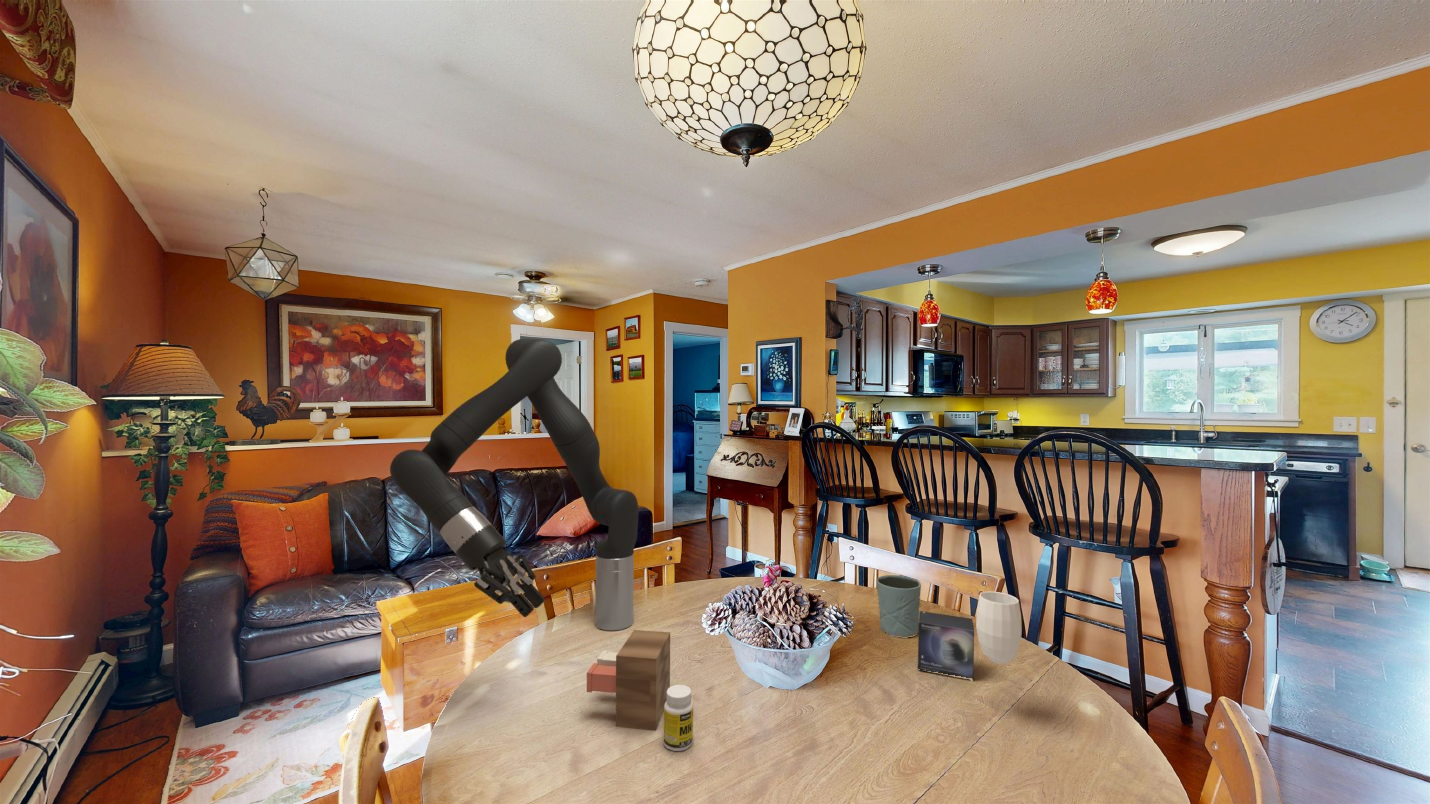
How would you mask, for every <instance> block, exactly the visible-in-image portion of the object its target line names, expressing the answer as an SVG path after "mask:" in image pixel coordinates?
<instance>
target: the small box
mask: <svg viewBox="0 0 1430 804" xmlns="http://www.w3.org/2000/svg"><path fill="white" fill-rule="evenodd" d="M917 636H918V637H917V639H918V640H917V641H918V642H917V643H918V644H917V670H918V669H920V670H926V671H931V672H938V673H943V674H948V675H955V676H961V677H966V678H973V679H974V663H975V661H974V658H975V656H974V655H975V653H974V652H975V625H974V621H973V618H969V617H962V616H956V615H949V614H944V613H943V614H942V613H937V612H935V613H934V612H931V611H930V612H929V611H925V610H924V611H923V610H919V621H918V634H917Z"/></svg>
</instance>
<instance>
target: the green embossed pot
mask: <svg viewBox="0 0 1430 804" xmlns="http://www.w3.org/2000/svg"><path fill="white" fill-rule="evenodd" d="M876 587H877V588H876V589H877V590H876V591H877V595H878V598H877V599H878V610H879V619H880V630H881V629H882V630H883V631H884V632H886V633H888V634H890V635H894V636H901V637H908V636H913V635H916V634H917V633H918V634H919V611H920V604H921V598H920V597H921V590H922V589H921V588H922V583H921V582H920V581H919V580H918V579H915V578H913V577H910V576H905V575H900V574H899V575H896V574H890V575H889V574H886V575H882V576H879V577H877V579H876ZM882 630H881V631H882ZM883 631H882V632H883ZM884 632H883V633H884ZM918 634H917V635H918Z"/></svg>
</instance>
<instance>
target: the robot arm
mask: <svg viewBox="0 0 1430 804" xmlns="http://www.w3.org/2000/svg"><path fill="white" fill-rule="evenodd" d="M505 364H506V367H507V370H508V371H507V372H506V373H504V375H502V376H501V377H500V378H499V379H498V380H497V381H495V382H494V383H493V384H491V385H490V386H488V387H487V388H485V389H483V391H481V392H479V393H477V394H476V395H474V396H472V397H471V398H469V399H468V400H466V401H464V403H462V404H460V405H459V406H458V407H456V408H455V410H453V411H452V412H451V413H450V414H449V415H448V416H446V417H445V418H444V419H443V420H442V421H441V422H440V423H439V424H438V425H436V427H435V428H434V429H433V430H432V431H431V434H430V437H429V438H430V439H429V441H428V442H427V444H426V445H425V446H424V448H422V450H419V449H407V450H406V449H405V450H402V451H401V452H399V453H397V454H396V455H395V456H394V457H393V459H392V461H391V463H390V466H389V471H390V472H389V473H390V476H391V479H392V481H393V482H394V483H395V484H396V485H397V486H398V487H399V488H400V490H402V491H403V493H405V494H406V495H407V496H408V497H409V498H410V500H412V501H413V502H414V503H415V504H416V505H417V507H419V508H420V509H421V511H422V512H423V514H424V515H425V517H426V518H427V520H428V521H429V522H430V523H431V525H432V526H433V527H434V528H435V529H436V530H437V532H438V533H439V534H440V535H441V536H442V538H443V540H444V542H445V543H446V544H447V545H448V546H449V548H450V549H451V550H452V551H453V552H454V553H455V555H456V556H457V557H458V558H459V559H460V560H461V562H463V564H464V565H465V566H466V567H467V568H468V569H469V570H470V571H471V572H474V571H478V574H479V575H480V576H479V578H478V579H476V581H475V582H474V583H473V585H474V587H475V588H477V589H478V590H479V591H481V593H483V594H485V595H487V596H488V597H489V598H491V599H492V600H493V601H495V602H497V603H498V604H499V605H502V604H503V603H508V604H511V605H512V607H514V608H515V610H516V611H517V612H518V613H519V614H520V615H521V616H522V617H523V618H527V617H528V616H529V615H530V614H531V613H532V612H533V611H534V609H538V608H540V607H541V605H542V604H544V603H545V602H546V599H545V597H544V596H543V594H541V593H540V591H539V590H538V589H537V588H536V587H535V586H534V580H535V579H536V577H537V576H536V574H535V573H534V571H533V569H532V567H531V565H530V563H529V561H528V559H527V557H526V556H525V554H524V553H522V552H519V554H518V555H512V553H511V552H509V551H508V550H507V549H505V548H506V547H505V546H506V544H507V541H506V539H505V538H504V537H503V536H502V534H500V532H499V531H498V530H497V529H496V527H495V526H494V525H493V524H492V523H491V522H490V521H489V520H488V518H486V516H485V515H484V514H483V513H481V512H480V511H479V509H477V508H476V507H475V506H474V505H473V504H472V503H471V502H470V501H469V499H468V498H467V497H466V496H465V495H464V494H463V493H462V492H461V491H460V490H459V489H457V487H455V486H454V485H453V484H452V482H451V481H450V480H449V478H448V477H447V475H448V474H449V472H451V469H453V467H454V465H455V464H456V463H457V462H458V460H459V458H460V457H461V456H462V455H463V454H464V453H466V452H467V450H468V449H469V448H471V447H472V445H474V444H475V443H476V442H477V440H479V439H480V438H481V437H482V436H483V435H484V434H485V433H486V432H487V431H488V430H489V429H490V428H491V427H492V426H493V425H494V424H495V423H496V422H497V421H498V420H499V419H501V418H502V417H503V416H504V415H505V414H507V413H508V412H509V411H510V410H511V409H513V408H514V407H515V406H516V405H517V404H519V403H520V402H521V401H523V400H524V399H526V397H527V398H528V400H529V401H530V403H531V405H532V406H533V408H534V410H535V412H536V414H537V416H538V417H539V419H540V421H541V423H542V425H543V427H544V429H545V430H546V431H547V434H548V435H549V437H550V440H551V442H552V444H553V445H554V447H555V449H556V451H557V452H558V454H559V456H560V457H561V458H562V460H563V462H564V463H565V465H566V468H567V469H568V470H569V473H570V475H571V476H572V478H573V480H574V481H575V483H576V485H577V487H578V490H579V492H580V494H581V496H582V499H583V501H584V503H585V507H587V511H588V512H589V514H590V516H591V518H592V520H594V521H595V522H596V523H597V524H600V525H603V526H607V527H608V532H607V533H608V534H607V538H604V539H601V540H599V541H598V542H597V543H596V546H595V626H596V628H598V629H600V630H603V631H618V630H619V631H621V630H625V629H627V628H629V627H631V626H632V625H633V624H634V585H635V584H634V573H635V572H634V571H635V569H634V567H635V566H634V565H635V564H634V563H635V562H634V558H635V556H634V555H635V545H636V543H637V539H638V526H639V523H638V522H639V503H638V499H637V497H636V495H635V494H634V493H633V492H632V491H629V490H627V489H626V490H625V489H620V488H613V487H612V486H611V485H610V484H609V483H608V481H607V480H606V478H605V475H604V474H603V472H602V470H601V466H600V459H601V458H600V456H601V454H600V452H601V449H600V448H601V447H600V443H599V438H598V437H597V435H596V433H595V431H594V429H593V427H592V425H591V424H590V422H589V420H588V419H587V417H586V416H585V415H584V413H583V412H582V411H581V410H580V409H579V408H578V406H577V405H576V404H575V403H573V401H571V399H570V398H569V397H568V396H567V395H566V394H565V393H564V391H562V389H561V388H560V386H559V385H558V383H557V382H556V379H555V377H556V375H558V373H559V371H560V369H561V367H562V364H563V357H562V353H561V351H560V348H559V347H558V346H557V344H555V343H554V342H552V341H551V340H547V339H543V338H519V339H516V340H514V341H512V342H511V343H510V344H509V345H508V347H507V349H506V351H505Z"/></svg>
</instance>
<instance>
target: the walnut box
mask: <svg viewBox="0 0 1430 804" xmlns="http://www.w3.org/2000/svg"><path fill="white" fill-rule="evenodd" d="M617 653H618V654H617V655H616V693H615V727H620V728H630V729H637V730H638V729H639V730H640V729H641V730H648V731H649V730H650V731H656V730H658V729H657V728H658V726H659V723H660V721H661V718H662V716H663V715H664V705H665V702H666V701H667V699H666V697H667V690H668V688H670V687H671V683H670V682H671V632H668V631H666V632H665V631H653V630H639V629H634V630H633V631H632V632H631V633H630V635H629V637H628V639H627V640H626V641H625V642H624V644H623V645H622V647H621V648H620V649H619V651H618V652H617Z"/></svg>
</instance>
